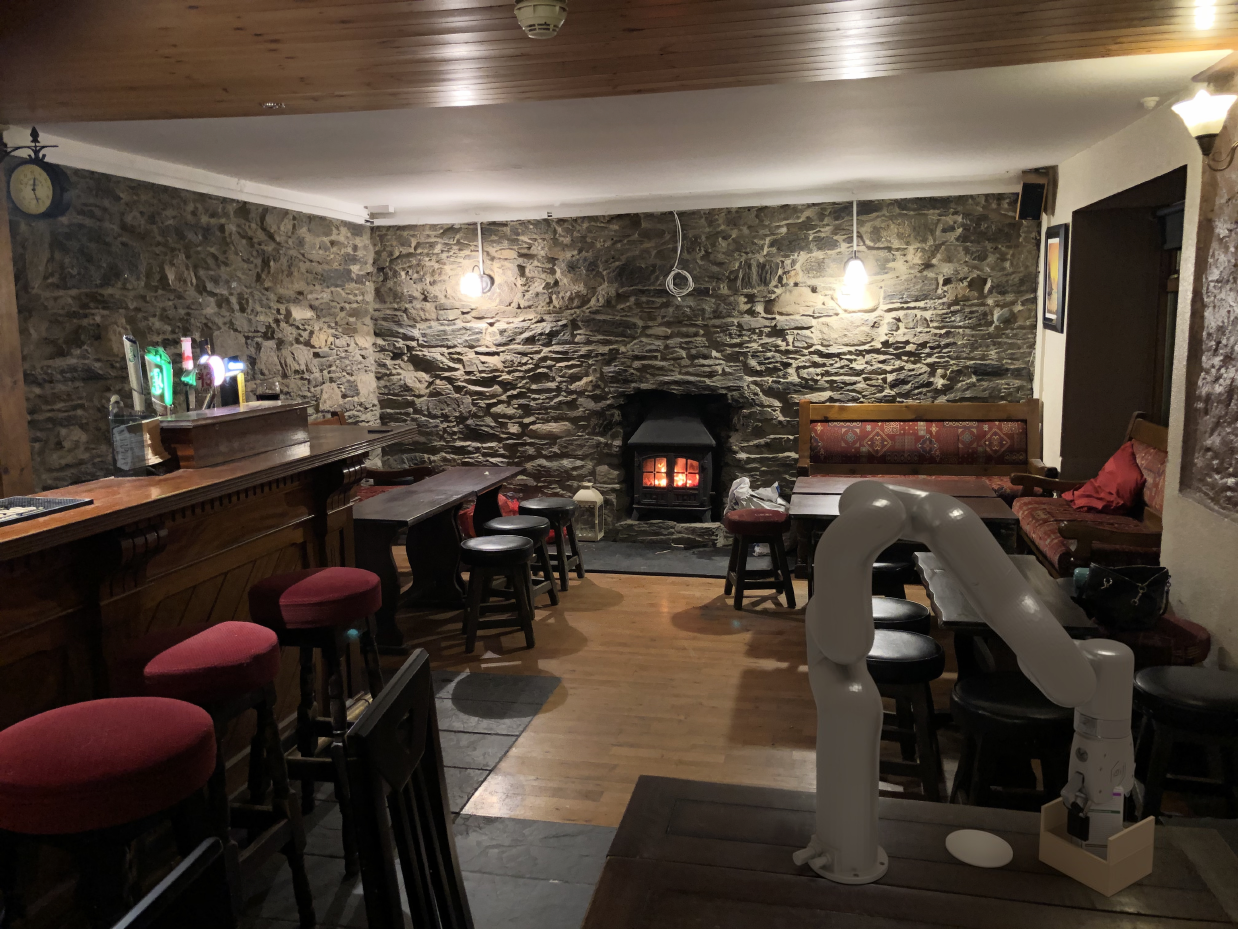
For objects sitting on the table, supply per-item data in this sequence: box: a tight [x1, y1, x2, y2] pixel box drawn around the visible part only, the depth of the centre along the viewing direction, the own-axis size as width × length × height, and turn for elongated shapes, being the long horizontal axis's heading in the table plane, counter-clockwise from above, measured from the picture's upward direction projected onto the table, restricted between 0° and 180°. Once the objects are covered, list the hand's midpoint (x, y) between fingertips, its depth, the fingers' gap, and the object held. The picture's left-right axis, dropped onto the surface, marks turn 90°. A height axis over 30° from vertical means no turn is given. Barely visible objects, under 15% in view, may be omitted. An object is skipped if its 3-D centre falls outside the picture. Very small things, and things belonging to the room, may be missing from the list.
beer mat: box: [945, 829, 1014, 869], centre depth 142 cm, size 10×10×1 cm
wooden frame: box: [1038, 796, 1156, 898], centre depth 136 cm, size 11×11×9 cm
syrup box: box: [1071, 785, 1124, 861], centre depth 136 cm, size 6×6×14 cm
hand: (1096, 827), depth 136 cm, fingers open, 9 cm apart
